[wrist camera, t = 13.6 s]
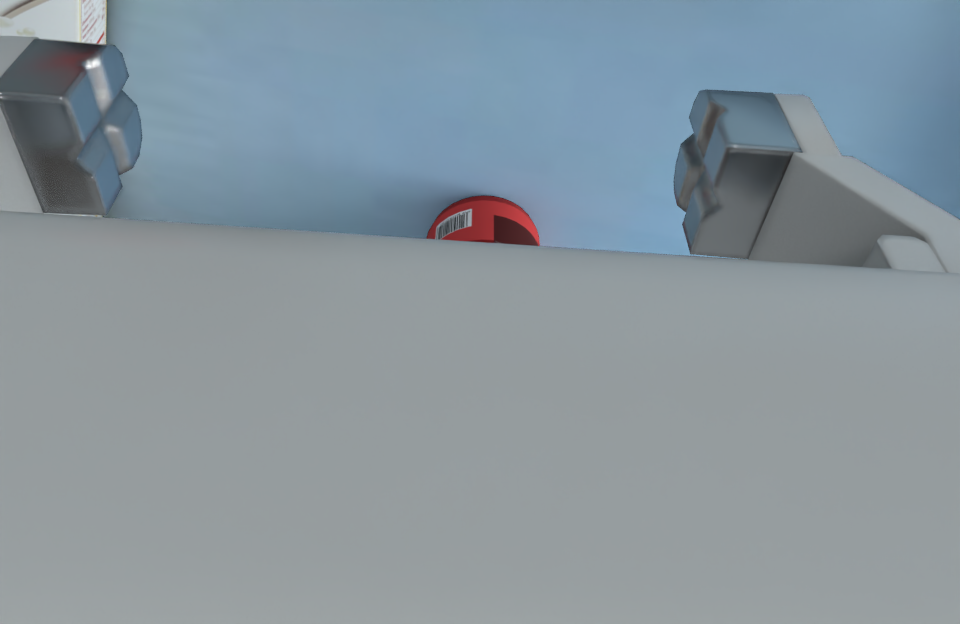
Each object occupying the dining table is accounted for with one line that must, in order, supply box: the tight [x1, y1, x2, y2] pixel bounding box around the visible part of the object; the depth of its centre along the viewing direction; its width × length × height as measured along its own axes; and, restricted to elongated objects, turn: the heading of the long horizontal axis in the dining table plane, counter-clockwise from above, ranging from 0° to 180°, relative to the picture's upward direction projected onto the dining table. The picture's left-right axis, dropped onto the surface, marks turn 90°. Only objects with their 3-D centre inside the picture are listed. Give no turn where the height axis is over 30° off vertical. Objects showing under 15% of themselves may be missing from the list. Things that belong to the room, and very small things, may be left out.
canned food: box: [426, 196, 540, 246], centre depth 50 cm, size 8×8×11 cm
